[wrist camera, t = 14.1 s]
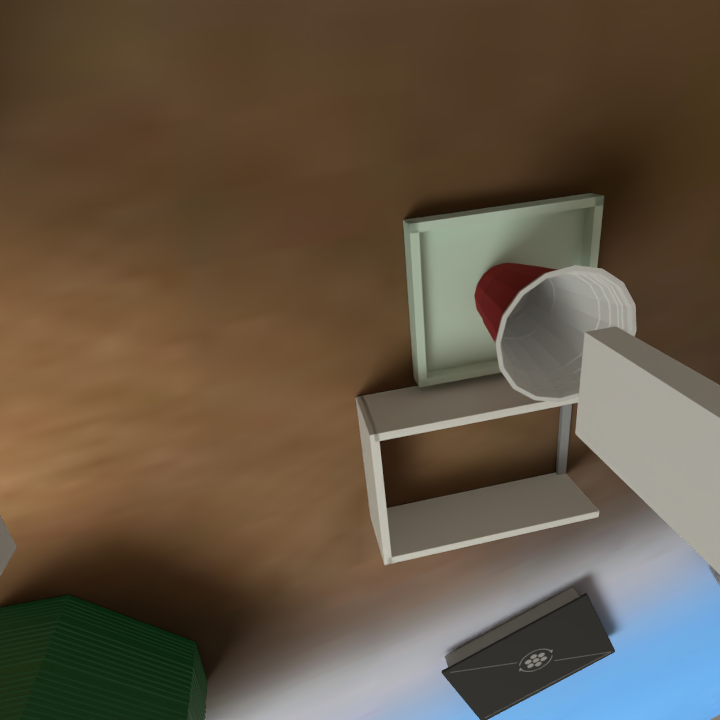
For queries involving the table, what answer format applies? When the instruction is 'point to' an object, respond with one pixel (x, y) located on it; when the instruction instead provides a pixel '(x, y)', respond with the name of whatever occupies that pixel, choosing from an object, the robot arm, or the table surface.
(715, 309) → the table surface
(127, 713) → the planter
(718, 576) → the juice carton
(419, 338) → the tray
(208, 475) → the table surface
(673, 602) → the table surface
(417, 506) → the frame
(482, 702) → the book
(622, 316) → the plastic cup
